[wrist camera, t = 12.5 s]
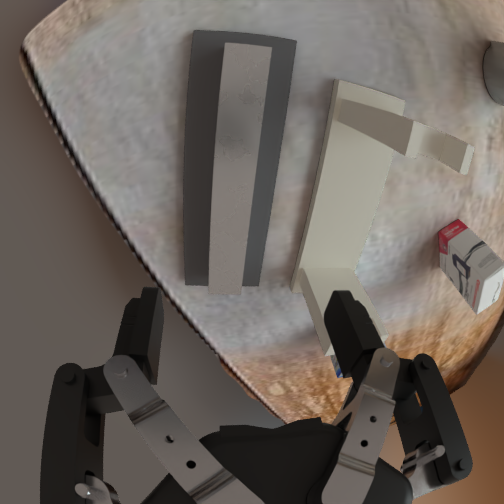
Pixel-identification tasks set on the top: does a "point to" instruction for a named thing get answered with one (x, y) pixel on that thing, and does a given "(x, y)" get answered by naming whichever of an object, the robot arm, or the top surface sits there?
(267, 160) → the rubber mat
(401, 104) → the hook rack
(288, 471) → the robot arm
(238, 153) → the rail
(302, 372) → the top surface
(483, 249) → the ink box
